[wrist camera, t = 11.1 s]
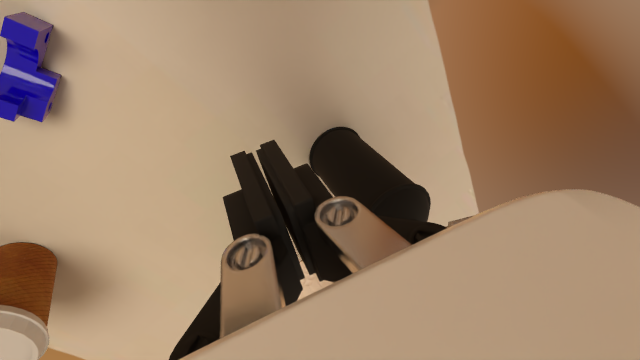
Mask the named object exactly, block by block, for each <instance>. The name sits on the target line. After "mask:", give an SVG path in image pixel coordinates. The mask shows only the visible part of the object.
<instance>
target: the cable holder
mask: <svg viewBox="0 0 640 360" xmlns="http://www.w3.org/2000/svg"><path fill="white" fill-rule="evenodd" d="M52 28H53V25H51V24H49V23H47V22H45V21H43V20H40V19H38V18H36V17H34V16H31V15H29V14H27V13H25V12H21V13H17V14H13V15H9V16H5V17H4V21H3V26H2V30H1V34H0V36H2V37H4V38H6V40H7V54H6V59H5V63H4V66H3V69H2V72H1V74H0V117H1V118H4V119H7V120H11V121H15V120H16V119H17V118H18V117H19V116H20V115H21V116H24V117H27V118H30V119H33V120H37V121H40V122H43V120H44V119H45V118H46V117H47V116H48V114H49V113H50V111H51V108H52V104H53V101H54V98H55V95H56V91H57V88H58V85H59V82H60V78H61V75H60V74H57V73H54V72H52V71H49V70H47V69H44V68H41V66H42V63H43V59H44V56H45V52H46V49H47V45H48V42H49V38H50V35H51V31H52Z"/></svg>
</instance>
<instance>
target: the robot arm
mask: <svg viewBox="0 0 640 360" xmlns="http://www.w3.org/2000/svg"><path fill="white" fill-rule="evenodd" d="M260 147H261V149H259V150H256V152H257V155H258V157H259V160H260V163H261V165H262V168H263V171H264V173H265V176H266V179H267V181H268V184H269V187H270V189H271V191H270V189H269V187H268V185H267V183H266V181H265V179H264V177H263V175H262V173H261V171H260V168H259V166H258V164H257V162H256V160H255V158H254V156H253V154H252V152H251V153H248V154H246V153H245V151H243V152H240V153H237V154H235V155H232V156H230V157H231V160H232V163H233V165H234V168H235V171H236V174H237V177H238V179H239V182H240V185H241V188H242V190H239V191H237V192H234V193H232V194H229V195H227V196H224V197H223V200H224V204H225V208H226V212H227V216H228V220H229V223H230V227H231V231H232V235H233V239H234V241H233V242H232V243H231V244H230V245H229V246H228V247H227V248H226V249H225V251H224V253H223V255H222V259H221V282H220V284H219V285H218V287H217V288H216V290H215V291H214V292H213V294H212V295H211V297H210V298H209V300H208V301H207V302H206V304H205V305H204V307H203V308H202V309H201V311H200V312H199V314H198V315H197V317H196V318H195V319H194V321H193V322H192V324H191V325H190V326H189V328H188V329H187V331H186V332H185V334H184V335H183V336H182V338H181V339H180V341H179V342H178V343H177V345H176V346H175V348H174V350H173V352H172V353H171V355H170V358H169V360H640V207H638V206H636V205H633V204H631V203H629V202H626V201H624V200H621V199H618V198H616V197H613V196H610V195H606V194H603V193H599V192H595V191H590V190H578V189H577V190H576V189H569V190H557V191H548V192H540V193H536V194H532V195H528V196H524V197H520V198H517V199H514V200H511V201H508V202H506V203H503V204H500V205H498V206H496V207H493V208H491V209H489V210H486V211H484V212H482V213H479V214H477V215H474V216H471V217H467V218H463V219H459V220H455V221H451V222H448V226H447V227H444V226H442V225H439V224H435V223H430V222H422V221H415V220H407V219H400V218H392V217H385V216H377V215H375V214H374V213H372V212H371V211H370V210H369V209H367V208H366V207H365V206H364V205H362V204H361V203H360V202H359V201H357V200H356V199H354V198H351V197H347V196H338V197H332V196H331V194H330V193H329V192H328V190H327V189H326V188H325V186H324V185H323V184H322V182H321V181H320V180H319V178H318V177H317V176H316V174H315V173H314V172H313V170H312V169H311V168H310V166H309V165H308V164H304V165H301V166H299V167H297V168H294V169H293V167H292V166H291V164H290V163H289V161H288V160H287V158H286V157H285V155H284V154H283V152H282V151H281V149H280V148H279V146H278V145H277V143H276V142H275V140H272V141H269V142H266V143H264V144H261V145H260ZM271 192H272V193H271ZM272 194H273V195H272ZM286 227H287V228H286ZM287 229H288V230H287ZM288 231H289V233H290V235H291V237H292V240H293V242H294V244H295V246H296V248H297V250H298V252H299V254H300V256H301V258H302V260H303V262H304V265H305V267H306V269H307V271H308V273H309V275H312V274H314V273H316V275H317V277H318V279H319V281H320V282H321V281H323V280H325V281H330V282H333V284H330V285H328V286H326V287H324V288H322V289H320V290H318V291H316V292H314V293H312V294H310V295H308V296H306V297H304V298H302V299H300V300H298V298H299V296H300V294H301V291H302V290H303V287H302V285H301V282H300V280H302V279H304V278H305V276H304V273H303V270H302V268H301V265H300V262H299V260H298V257H297V254H296V252H295V249H294V246H293V244H292V241H291V238H290V236H289V233H288ZM297 300H298V301H297Z"/></svg>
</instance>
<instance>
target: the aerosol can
mask: <svg viewBox="0 0 640 360" xmlns="http://www.w3.org/2000/svg"><path fill="white" fill-rule="evenodd" d="M310 165H311V168H312V170H313V171H314V172H315V173H316V174H317V175H318V176H320V177H321V179H322V180H323V181H324V182H325V184H326V185H327V186H328V188H329V189H330V190H331V192H332V193H333V194H334V195H335V197H338V196H347V197H351V198H354V199H356V200H357V201H359V202H360V203H361V204H362V205H364V206H365V207H366V208H367V209H369V210H370V211H371V212H372V213H374V214H375V215H377V216H385V217H392V218H400V219H407V220H415V221H422V222H427V220H428V216H429V210H430V204H431V203H430V197H429V194H428V192H427V191H426V189H425V188H423V187H422V186H420V185H417V184H415V183H413V182H412V181H411V180H410V179H409V178H407V177H406V176H405V175H404V174H403V173H401V172H400V171H399V170H398V169H397V168H395V167H394V166H393V165H392V164H391V163H389V162H388V161H387V160H386V159H385V158H383V157H382V156H381V155H380V154H379V153H377V152H376V151H375V150H374V149H373V148H371V147H370V146H369V145H368V144H367V143H365V142H364V141H363V140H362V139H361V138H360V137H359V135H358V134H357V133H356V132H355V131H354V130H352V129H350V128H347V127H336V128H332V129H330V130H327V131H326V132H324V133H323V134H322V135H321V136H319V137H318V138H317V140H316V141H315V142H314V144H313V146H312V148H311V152H310Z"/></svg>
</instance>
